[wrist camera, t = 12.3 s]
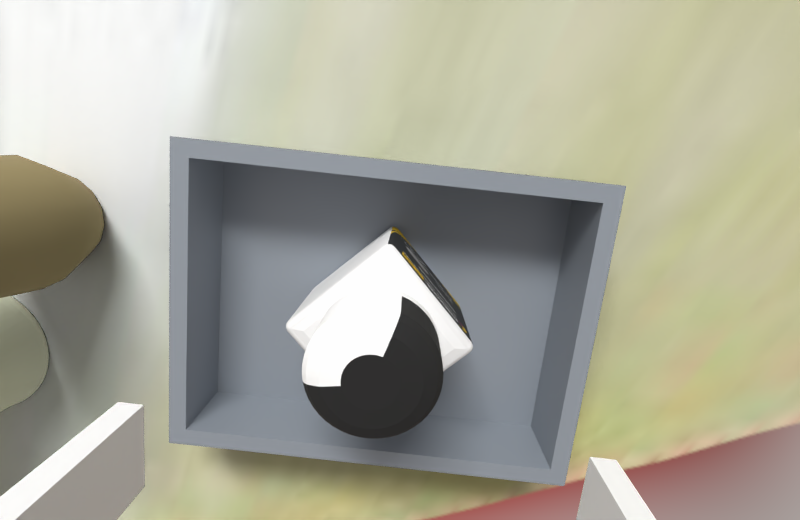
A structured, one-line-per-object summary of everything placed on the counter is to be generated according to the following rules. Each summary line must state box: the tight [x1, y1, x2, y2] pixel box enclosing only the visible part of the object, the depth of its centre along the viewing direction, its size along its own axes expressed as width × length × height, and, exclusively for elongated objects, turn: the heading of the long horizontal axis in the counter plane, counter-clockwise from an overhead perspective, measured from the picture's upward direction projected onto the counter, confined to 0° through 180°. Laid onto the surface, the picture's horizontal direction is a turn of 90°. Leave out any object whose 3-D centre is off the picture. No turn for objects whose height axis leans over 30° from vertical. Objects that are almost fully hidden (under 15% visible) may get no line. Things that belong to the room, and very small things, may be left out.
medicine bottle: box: [286, 227, 473, 439], centre depth 25 cm, size 7×7×12 cm
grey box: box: [169, 136, 626, 486], centre depth 29 cm, size 24×18×6 cm
